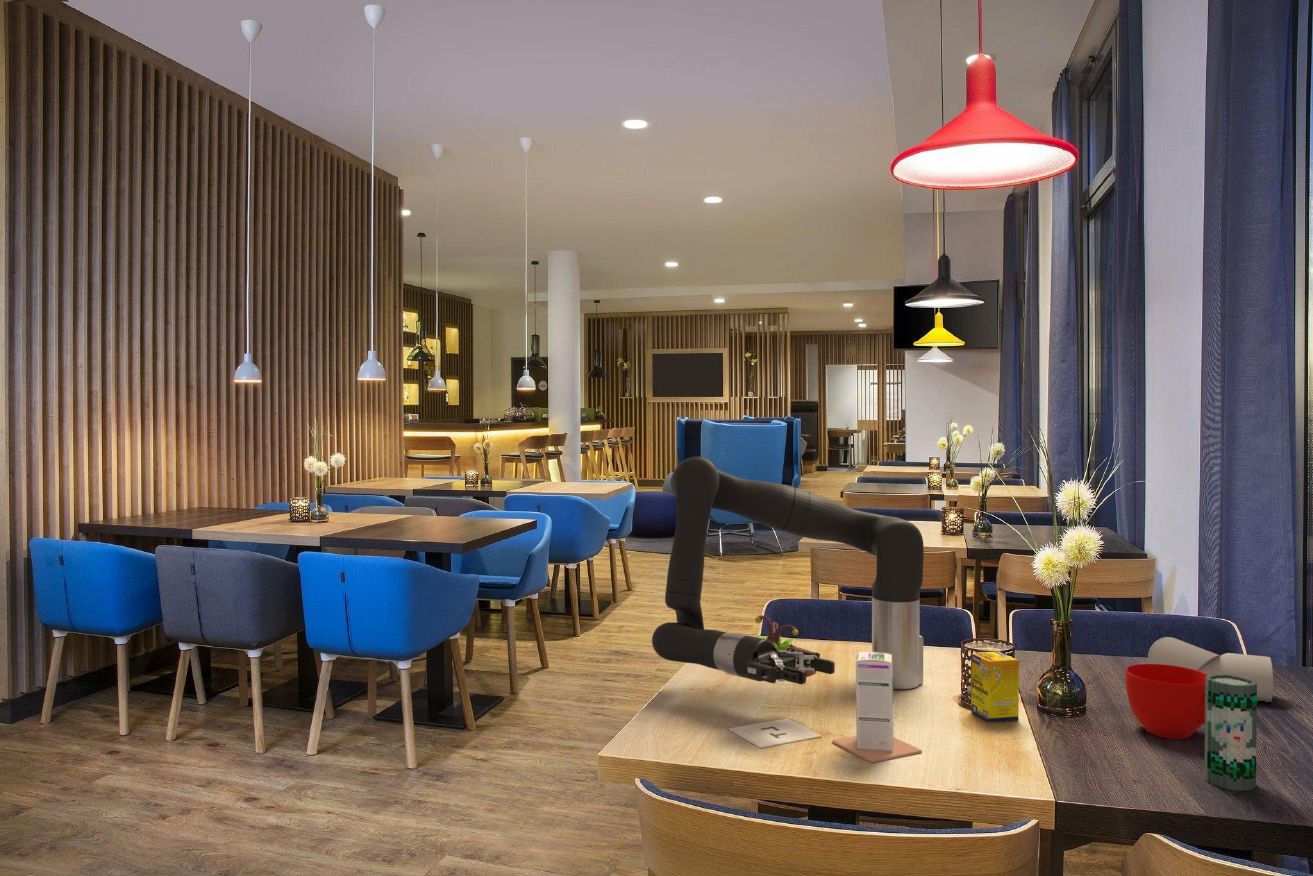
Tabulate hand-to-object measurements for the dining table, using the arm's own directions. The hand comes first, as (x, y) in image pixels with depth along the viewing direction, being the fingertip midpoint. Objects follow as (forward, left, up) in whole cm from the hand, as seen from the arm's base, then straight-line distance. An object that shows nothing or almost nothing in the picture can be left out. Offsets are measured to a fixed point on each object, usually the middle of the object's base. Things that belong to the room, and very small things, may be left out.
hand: (819, 672), depth 155 cm
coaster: (-4, +10, -10) cm, 15 cm away
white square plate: (+7, -3, -10) cm, 13 cm away
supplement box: (-33, +7, -10) cm, 35 cm away
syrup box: (-3, +10, -10) cm, 15 cm away
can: (-41, +44, -10) cm, 61 cm away
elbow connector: (-83, +13, -10) cm, 84 cm away
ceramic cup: (-53, +28, -10) cm, 61 cm away
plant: (-16, -40, -11) cm, 44 cm away
